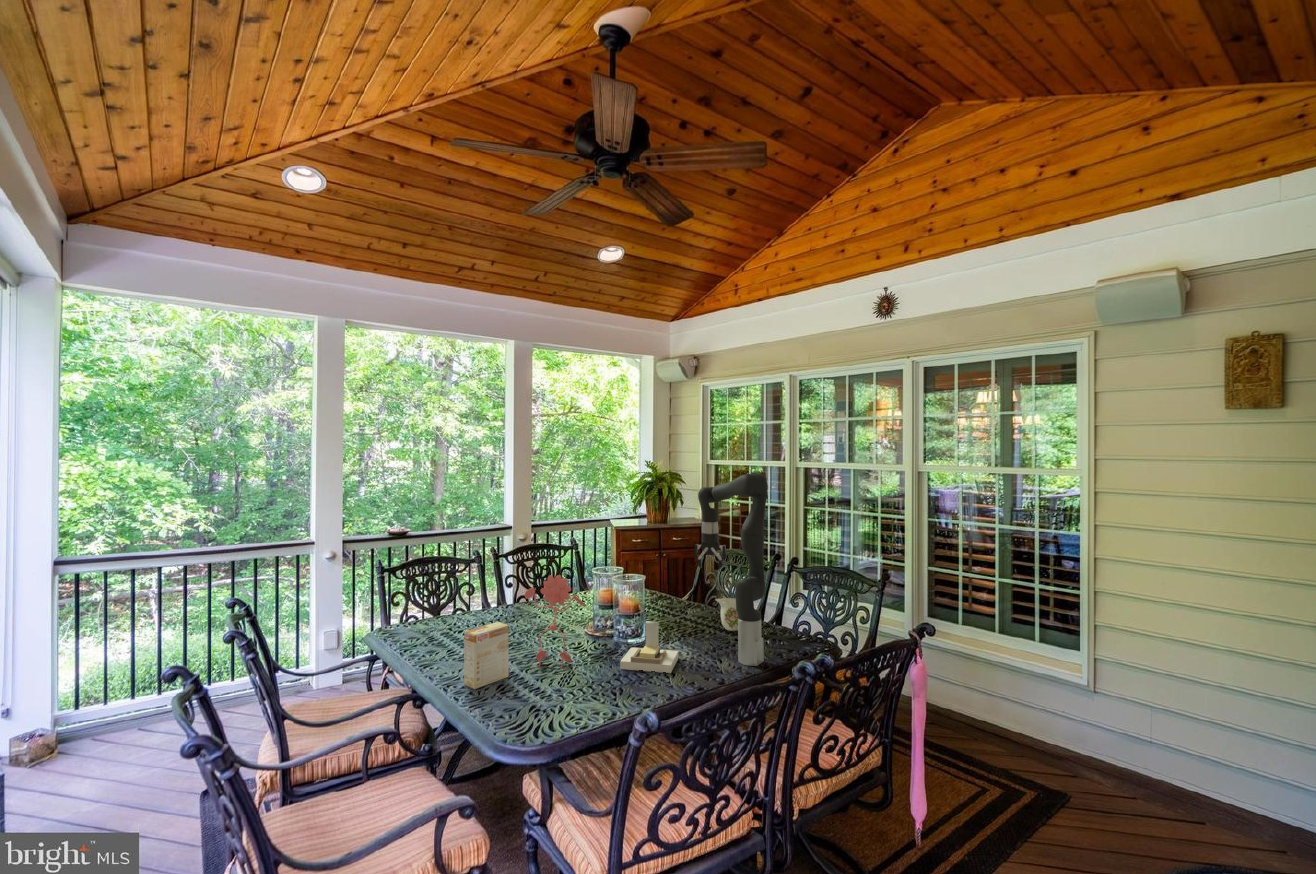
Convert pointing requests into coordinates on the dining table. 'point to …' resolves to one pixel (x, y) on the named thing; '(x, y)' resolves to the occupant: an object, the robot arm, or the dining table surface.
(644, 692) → the dining table surface
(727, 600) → the pitcher
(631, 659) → the dock
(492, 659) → the coffeecake box
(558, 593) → the red stick figure
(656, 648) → the beige l-shaped block
